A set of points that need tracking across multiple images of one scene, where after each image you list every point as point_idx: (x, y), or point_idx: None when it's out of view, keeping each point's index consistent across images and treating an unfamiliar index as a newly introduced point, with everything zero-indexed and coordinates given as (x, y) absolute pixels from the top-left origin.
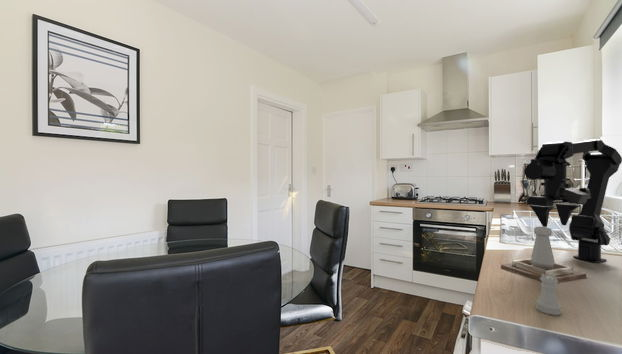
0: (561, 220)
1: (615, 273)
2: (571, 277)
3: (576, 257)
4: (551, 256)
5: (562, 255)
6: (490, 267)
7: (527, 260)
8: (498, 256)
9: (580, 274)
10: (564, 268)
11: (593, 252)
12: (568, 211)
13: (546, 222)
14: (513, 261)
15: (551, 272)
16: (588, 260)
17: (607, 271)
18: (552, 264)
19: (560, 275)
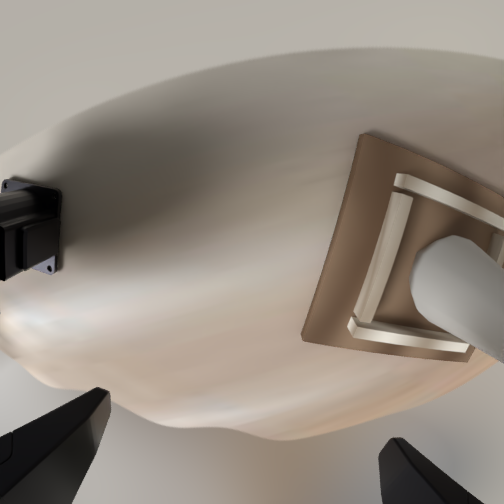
0: (95, 448)
1: (170, 81)
2: (445, 167)
3: (55, 260)
4: (483, 253)
5: (61, 308)
6: (475, 368)
7: (417, 335)
8: (322, 430)
9: (397, 148)
10: (444, 197)
11: (23, 208)
12: (12, 498)
13: (429, 461)
14: (466, 347)
15: (502, 218)
16: (59, 214)
17: (163, 108)
18: (465, 238)
19: (466, 198)
